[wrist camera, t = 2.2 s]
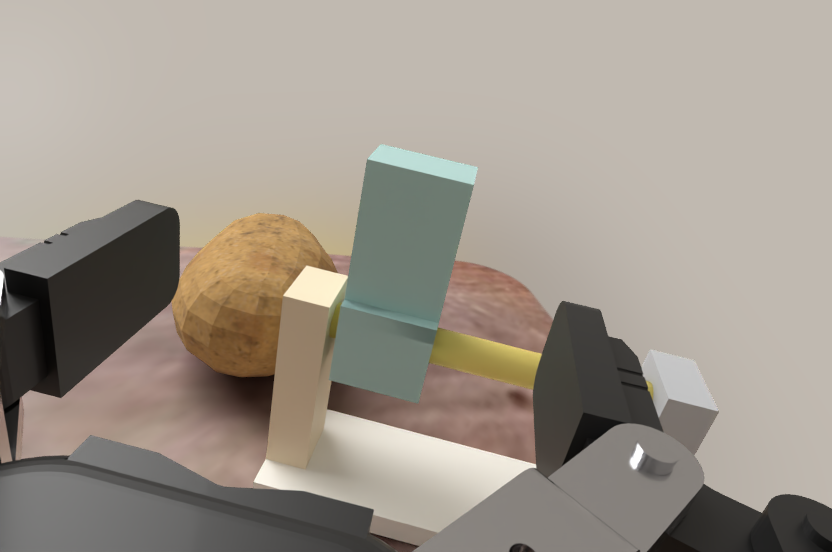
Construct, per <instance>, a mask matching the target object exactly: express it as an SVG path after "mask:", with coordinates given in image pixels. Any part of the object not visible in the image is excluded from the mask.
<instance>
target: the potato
mask: <svg viewBox="0 0 832 552" xmlns="http://www.w3.org/2000/svg"><path fill="white" fill-rule="evenodd" d="M306 266H310V267H314V268H318V269H322V270H326V271H330V272H334V273H338V272H337V270H336V268H335V266H334V264H333V261H332V259H331V258H330V257H329V255H328V254H327V253H326V252H325V250H324V249H323V248H322V246H321V245H320V243H319V242H318V240H317V239H316V237H315V236H314V235H313V234H312V233H311V232H310V231H309V230H308V229H307V228H306V227H305V226H303V225H302V224H301V223H300V222H299V221H297V220H294V219H292V218H289V217H287V216H284V215H275V214H263V213H258V214H254V215H251V216H248V217H244V218H241V219H238V220H235V221H233V222H232V223H231V224H230V225H229V226H227V227H226V228H225V229H224V230H223V231H221V232H220V233H219V234H218V235H217V236H216V237H214V238H213V239H212V240H211V241H210V242H209V243H208V244H207V245H206V246H205V247H203V248H202V249H201V250H200V251H199V252H198V254H197V255H196V256H195V257H194V258H193V259H192V261H191V262H190V263H189V264H188V265H187V266H186V268H185V270H184V272H183V274H182V276H181V277H180V279H179V284H178V288H177V291H176V294H175V296H174V298H173V299H172V309H173V315H174V320H175V325H176V330H177V333H178V335H179V337H180V338H181V340H182V342H183V344H184V345H185V347H186V349H187V350H188V351H189V352H190V353H192V354H193V355H195V356H196V357H197V358H199V359H200V360H202V361H203V362H204V363H206V364H207V365H208V366H209V367H211V368H212V369H213V370H215V371H216V372H218V373H223V374H228V375H233V376H237V377H260V376H271V375H274V374H275V368H276V358H277V349H278V339H279V329H280V320H281V310H282V301H283V295H284V294H285V293H286V291H287V290H288V289H289V287H290V286H291V285H292V284H293V282H294V281H295V280H296V278H297V277H298V276H299V275H300V273H301V272H302V271H303V269H304V268H305V267H306Z"/></svg>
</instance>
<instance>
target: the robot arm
mask: <svg viewBox="0 0 832 552" xmlns="http://www.w3.org/2000/svg"><path fill="white" fill-rule="evenodd" d="M179 235H180V222H179V216H178V213H177V211H176V210H175V209H174V208H170V207H166V206H162V205H157V204H153V203H149V202H145V201H140V200H135V201H133V202H131V203H129V204H127V205H125V206H123V207H121V208H119V209H117V210H115V211H113V212H111V213H109V214H108V215H106V216H104V217H102V218H97V219H93V220H88V221H84V222H80V223H78V224H76V225H74V226H72V227H70V228H68V229H66V230H64V231H62V232H61V234H60V235H58V234H57V235H54V236H52V237H50V238H48V239H46V240H45V241H44V243H41V242H40V243H38V244H36V245H34V246H32V247H30V248H28V249H26V250H24V251H22V252H20V253H18V254H16V255H14V256H12V257H10V258H8V259H6V260H4V261H2V262H0V552H398V551H397V550H395V549H394V548H392V547H391V546H389V545H388V544H387V543H385V542H384V541H382V540H381V539H379V538H377V537H375V536H373V535H372V534H370V533H369V531H370V526H371V522H372V517H373V512H374V509H371V508H367V507H363V506H359V505H355V504H352V503H348V502H344V501H340V500H336V499H332V498H329V497H325V496H321V495H317V494H313V493H310V492H306V491H298V490H277V489H256V488H235V487H224V486H220V485H217V484H215V483H213V482H211V481H209V480H208V479H206V478H204V477H202V476H200V475H198V474H196V473H195V472H193V471H191V470H189V469H187V468H185V467H184V466H182V465H180V464H178V463H176V462H174V461H172V460H171V459H169V458H167V457H165V456H163V455H161V454H160V453H157V452H153V451H149V450H145V449H142V448H138V447H134V446H130V445H126V444H122V443H119V442H115V441H111V440H107V439H103V438H100V437H96V436H92V435H90V436H89V437H88V438H87V439H86V440H85V441H84V442H83V443H82V444H81V445H80V446H79V447H78V448H77V449H76V450H75V451H74V452H73V453H72V454H71V455H70V456H63V455H62V456H42V457H34V458H26V459H21V452H22V436H23V419H24V408H23V401H22V396H23V395H24V394H25V393H27V392H28V391H29V390H32V391H36V392H40V393H44V394H47V395H51V396H55V397H59V398H61V397H63V396H64V395H65V394H66V393H67V392H68V391H70V390H71V389H72V388H73V387H74V386H75V385H76V384H78V383H79V382H80V381H81V380H82V379H83V378H85V377H86V376H87V375H88V374H89V373H90V372H92V371H93V370H94V369H95V368H96V367H97V366H98V365H100V364H101V363H102V362H103V361H104V360H105V359H107V358H108V357H109V356H110V355H111V354H112V353H113V352H115V351H116V350H117V349H118V348H119V347H120V346H122V345H123V344H124V343H125V342H126V341H127V340H128V339H130V338H131V337H132V336H133V335H134V334H135V333H137V332H138V331H139V330H140V329H141V328H142V327H143V326H145V325H146V324H147V323H148V322H149V321H150V320H152V319H153V318H154V317H155V316H156V315H157V314H158V313H160V312H161V311H162V310H163V309H164V308H165V307H167V306H168V305H169V304H170V302H171V301H172V299H173V298H174V296H175V294H176V291H177V288H178V284H179V276H180V240H179V239H180V237H179ZM533 408H534V429H535V451H536V468H529V469H527V470H525V471H523V472H522V473H520V474H519V475H517V476H516V477H515V478H513V479H512V480H511V481H509V482H508V483H506V484H505V485H504V486H502V487H501V488H499V489H498V490H497V491H495V492H494V493H493V494H491V495H490V496H488V497H487V498H486V499H484V500H483V501H481V502H480V503H479V504H477V505H476V506H475V507H473V508H472V509H470V510H469V511H468V512H466V513H465V514H464V515H462V516H461V517H459V518H458V519H457V520H455V521H454V522H452V523H451V524H450V525H448V526H447V527H446V528H444V529H443V530H441V531H440V532H439V533H437V534H436V535H434V536H433V537H432V538H430V539H429V540H428V541H426V542H425V543H423V544H422V545H421V546H419V547H418V548H417V549H415V550H414V551H412V552H832V509H831V508H829V507H827V506H825V505H824V504H821V503H819V502H817V501H814V500H811V499H809V498H805V497H802V496H798V495H790V494H785V495H779V496H775V497H774V498H772V499H771V500H770V502H769V503H768V505H767V506H766V508H765V510H764V511H763V513H761V512H758V511H756V510H754V509H752V508H750V507H748V506H746V505H744V504H741V503H739V502H737V501H735V500H733V499H731V498H729V497H727V496H725V495H722V494H720V493H719V492H716V491H714V490H713V489H711V488H709V487H708V486H706V485H705V484H703V483H704V473H703V470H702V467H701V465H700V464H699V462H698V460H697V459H696V458H695V456H694V455H693V454H692V453H691V452H690V451H689V450H688V449H687V448H686V447H685V446H684V445H682V444H681V443H680V442H678V441H677V440H675V439H674V438H672V437H671V436H669V435H667V434H665V433H664V431H663V429H662V426H661V423H660V420H659V417H658V414H657V411H656V409H655V406H654V403H653V400H652V397H651V394H650V392H649V391H648V386H647V383H646V380H645V377H643V371H642V368H641V366H640V363H639V360H638V357H637V356H636V355H635V354H634V352H633V351H632V350H631V349H630V348H629V347H628V346H627V345H626V344H625V343H624V342H623V341H622V340H621V339H617V338H612V337H609V336H608V335H607V331H606V327H605V324H604V320H603V317H602V313H601V311H600V310H599V309H595V308H591V307H587V306H582V305H578V304H574V303H570V302H565V301H562V302H561V303H560V305H559V307H558V309H557V311H556V314H555V317H554V320H553V323H552V326H551V329H550V332H549V335H548V338H547V341H546V344H545V347H544V350H543V353H542V356H541V359H540V361H539V364H538V368H537V371H536V376H535V381H534V387H533Z"/></svg>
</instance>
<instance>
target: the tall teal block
mask: <svg viewBox="0 0 832 552" xmlns="http://www.w3.org/2000/svg"><path fill="white" fill-rule="evenodd" d="M477 169H478V167H475V166H470V165H466V164H462V163H458V162H453V161H449V160H445V159H441V158H437V157H433V156H429V155H425V154H420V153H416V152H412V151H408V150H404V149H400V148H395V147H391V146H387V145H382V144H381V145H380V146H379V147H378V148H377V149H376V150H375V151H374V152H373V153H372V154H371V156H370V157H369V158H368V159H367V163H366V170H365V176H364V182H363V188H362V194H361V200H360V207H359V213H358V219H357V225H356V231H355V237H354V244H353V250H352V256H351V262H350V268H349V274H348V281H347V287H346V293H345V299H344V301H343V303H342V304H341V306H340V313H339V319H338V325H337V332H336V338H335V344H334V350H333V357H332V363H331V369H330V376H329V380H330V381H334V382H338V383H342V384H346V385H349V386H353V387H357V388H361V389H365V390H368V391H372V392H376V393H380V394H384V395H388V396H391V397H395V398H399V399H403V400H407V401H410V402H414V403H419V399H420V395H421V391H422V387H423V383H424V379H425V375H426V371H427V367H428V364H429V360H430V356H431V352H432V348H433V344H434V340H435V336H436V332H437V328H438V324H439V320H440V316H441V312H442V308H443V304H444V300H445V296H446V292H447V288H448V285H449V281H450V277H451V273H452V269H453V265H454V261H455V257H456V253H457V249H458V245H459V241H460V237H461V233H462V229H463V226H464V222H465V217H466V214H467V209H468V206H469V202H470V198H471V194H472V190H473V186H474V182H475V178H476V173H477Z"/></svg>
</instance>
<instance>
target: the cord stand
mask: <svg viewBox="0 0 832 552" xmlns="http://www.w3.org/2000/svg"><path fill="white" fill-rule="evenodd" d="M347 281H348V276H346V275H342V274H338V273H334V272H330V271H326V270H322V269H318V268H314V267H310V266H306V267H305V268H304V269H303V271H302V272H301V273H300V275H299V276H298V277H297V278H296V280H295V281H294V282H293V284H292V285H291V286H290V287H289V289H288V290H287V291H286V293H285V294H284V295H283V301H282V310H281V320H280V329H279V339H278V349H277V358H276V368H275V377H274V387H273V396H272V406H271V415H270V425H269V435H268V444H267V454H266V460H265V462H264V463H263V465H262V467H261V469H260V471H259V473H258V475H257V476H256V478H255V480H254V482H253V488H256V489H277V490H298V491H306V492H310V493H313V494H317V495H321V496H325V497H329V498H332V499H336V500H340V501H344V502H348V503H352V504H355V505H359V506H363V507H367V508H371V509H374V512H373V517H372V522H371V526H370V531H369V532H370V533H374V534H377V535H381V536H384V537H388V538H392V539H395V540H399V541H403V542H406V543H410V544H413V545H417V546H421V545H422V544H423V543H425V542H426V541H428V540H429V539H430V538H432V537H433V536H434V535H436V534H437V533H439V532H440V531H441V530H443V529H444V528H446V527H447V526H448V525H450V524H451V523H452V522H454V521H455V520H457V519H458V518H459V517H461V516H462V515H464V514H465V513H466V512H468V511H469V510H470V509H472V508H473V507H475V506H476V505H477V504H479V503H480V502H481V501H483V500H484V499H486V498H487V497H488V496H490V495H491V494H493V493H494V492H495V491H497V490H498V489H499V488H501V487H502V486H504V485H505V484H506V483H508V482H509V481H511V480H512V479H513V478H515V477H516V476H517V475H519V474H520V473H522V472H523V471H525V470H527V469H529V468H536V464H532V463H528V462H524V461H521V460H517V459H513V458H509V457H506V456H502V455H498V454H494V453H490V452H487V451H483V450H479V449H475V448H472V447H468V446H464V445H460V444H457V443H453V442H449V441H445V440H441V439H438V438H434V437H430V436H426V435H423V434H419V433H415V432H411V431H408V430H404V429H400V428H396V427H392V426H389V425H385V424H381V423H377V422H374V421H370V420H366V419H362V418H359V417H355V416H351V415H347V414H343V413H340V412H336V411H332V410H328V409H327V405H328V399H329V393H330V387H331V381H330V380H329V376H330V369H331V363H332V357H333V350H334V344H335V338H336V332H337V325H338V319H339V313H340V306H341V304H342V303H343V301H344V299H345V293H346V287H347ZM541 356H542V354H540V353H536V352H532V351H528V350H524V349H520V348H516V347H512V346H508V345H504V344H500V343H496V342H492V341H489V340H485V339H481V338H477V337H473V336H469V335H465V334H461V333H457V332H453V331H449V330H445V329H442V328H437V332H436V336H435V340H434V344H433V348H432V352H431V356H430V360H429V363H431V364H435V365H439V366H443V367H447V368H451V369H455V370H459V371H462V372H466V373H470V374H474V375H478V376H482V377H486V378H489V379H493V380H497V381H501V382H505V383H509V384H513V385H516V386H520V387H524V388H528V389H532V390H533V387H534V381H535V376H536V371H537V368H538V364H539V361H540V359H541ZM641 368H642V371H643V377H645V380H646V383H647V386H648V391H649V392H650V394H651V397H652V400H653V403H654V406H655V409H656V411H657V414H658V417H659V420H660V423H661V426H662V429H663V431H664V433H665V434H667V435H669V436H671V437H672V438H674V439H675V440H677V441H678V442H680V443H681V444H682V445H684V446H685V447H686V448H687V449H688V450H689V451H690V452H691V453H692V454H693V455H695V453H696V452H697V450H698V448H699V446H700V444H701V443H702V441H703V439H704V437H705V436H706V434H707V432H708V430H709V429H710V427H711V425H712V423H713V421H714V420H715V418H716V416H717V414H718V413H719V410H718V408H717V406H716V404H715V402H714V400H713V398H712V396H711V394H710V392H709V390H708V387H707V385H706V383H705V382H704V379H703V377H702V375H701V373H700V371H699V369H698V367H697V365H696V363H695V361H694V360H692V359H688V358H684V357H680V356H675V355H672V354H668V353H664V352H660V351H656V350H652V349H650V350H649V352H648V355H647V357H646V359H645V361H644V363H643V365H642V367H641Z"/></svg>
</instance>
